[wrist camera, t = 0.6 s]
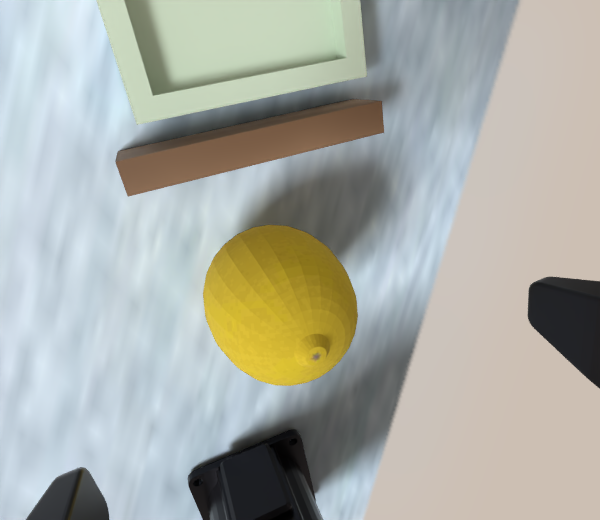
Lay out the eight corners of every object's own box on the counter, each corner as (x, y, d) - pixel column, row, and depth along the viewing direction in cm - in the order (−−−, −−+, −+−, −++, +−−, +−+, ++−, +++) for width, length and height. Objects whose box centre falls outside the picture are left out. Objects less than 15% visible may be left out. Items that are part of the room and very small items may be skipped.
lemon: (281, 182, 19) (368, 239, 12) (322, 280, 21) (413, 373, 14) (168, 240, 18) (190, 337, 11) (225, 334, 21) (271, 460, 14)
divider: (355, 126, 19) (384, 132, 17) (128, 181, 17) (127, 196, 14) (352, 98, 18) (381, 100, 16) (117, 151, 16) (115, 161, 14)
